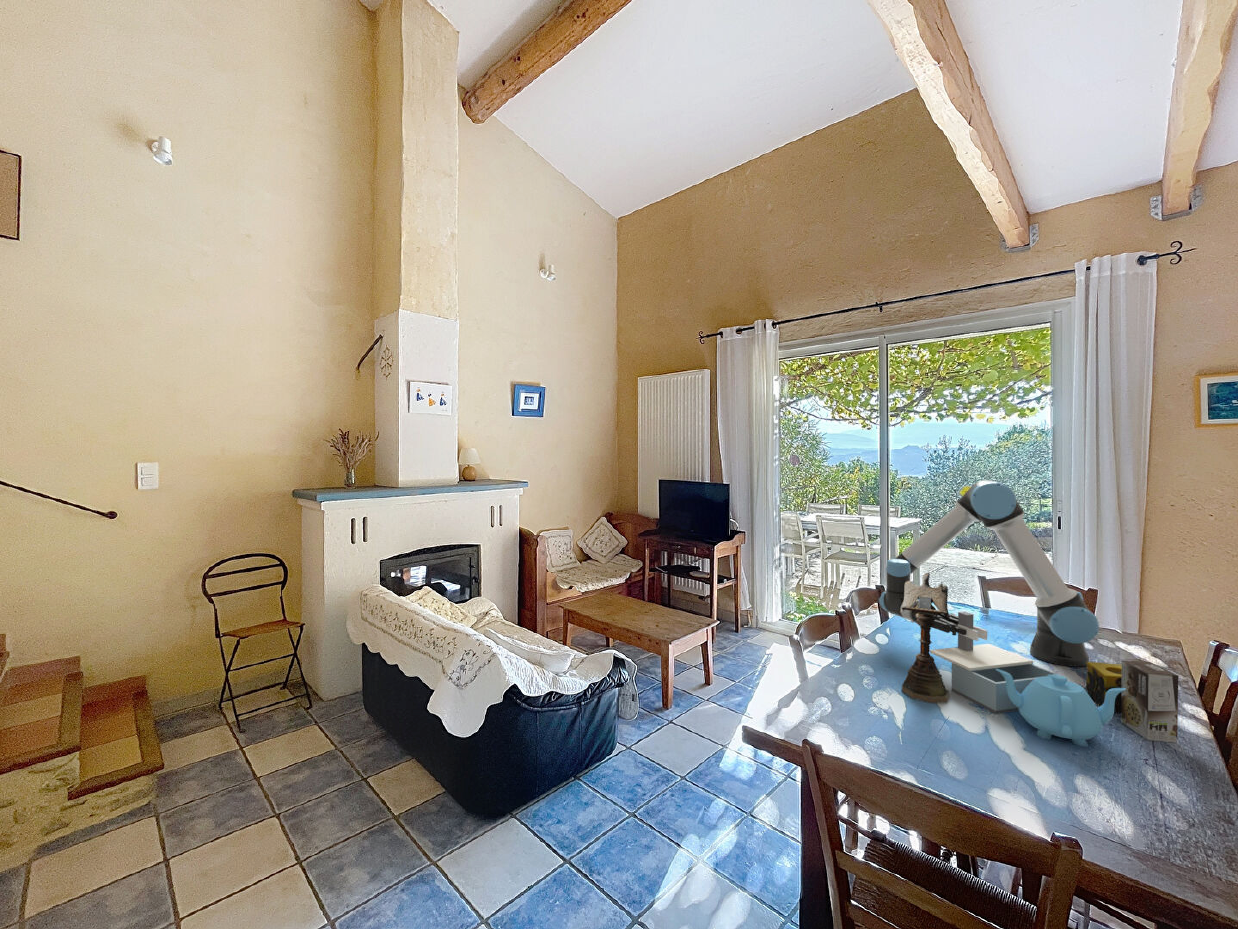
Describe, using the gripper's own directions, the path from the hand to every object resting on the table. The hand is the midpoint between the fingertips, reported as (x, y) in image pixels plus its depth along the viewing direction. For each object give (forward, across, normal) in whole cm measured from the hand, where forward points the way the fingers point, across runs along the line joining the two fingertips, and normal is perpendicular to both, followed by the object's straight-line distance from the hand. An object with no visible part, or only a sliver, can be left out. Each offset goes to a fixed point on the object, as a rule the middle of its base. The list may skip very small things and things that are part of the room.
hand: (981, 635), depth 156 cm
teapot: (+25, +5, -15) cm, 30 cm away
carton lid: (0, 0, -7) cm, 7 cm away
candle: (+19, -25, -15) cm, 35 cm away
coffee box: (+31, -17, -15) cm, 38 cm away
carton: (+8, 0, -15) cm, 17 cm away
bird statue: (+2, +21, -15) cm, 26 cm away
